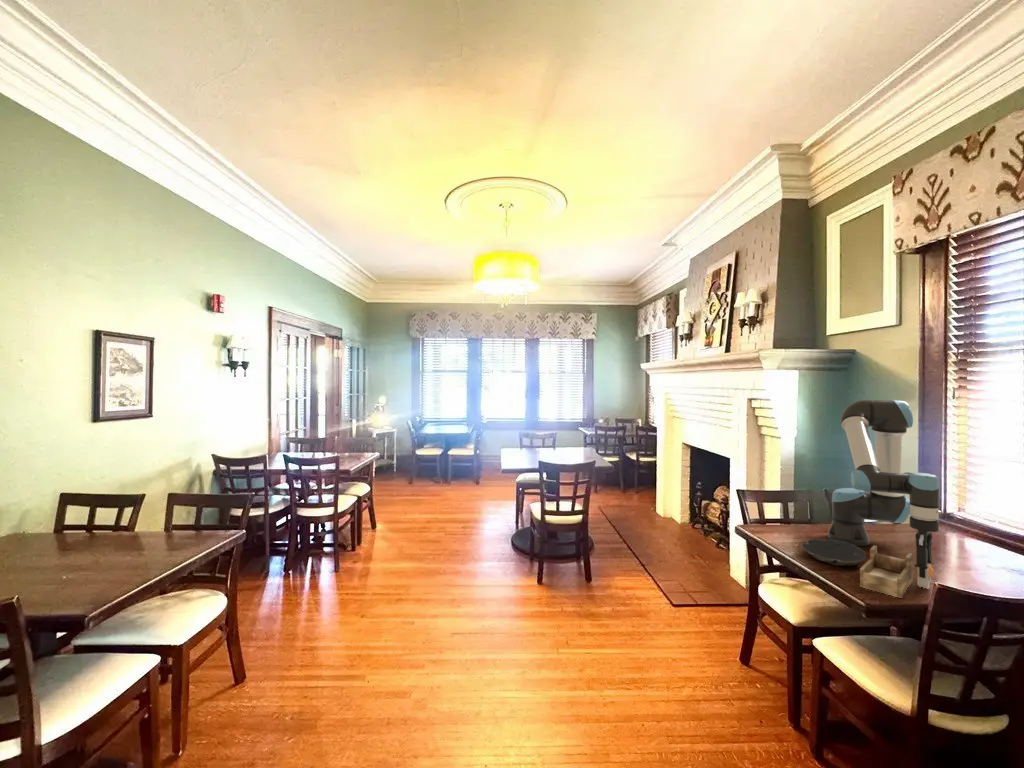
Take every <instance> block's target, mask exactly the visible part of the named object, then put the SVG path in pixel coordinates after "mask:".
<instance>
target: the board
mask: <svg viewBox="0 0 1024 768" xmlns="http://www.w3.org/2000/svg"><path fill="white" fill-rule="evenodd" d="M805 542H806V543H804V542H802V543H801V547H802V549H803V550H804V551H805V552H806V553H808V554H809V555H810V556H811V555H812V556H811V557H813V558H814V559H816V560H818V561H820V562H822V561H823V563H825V562H826V563H825V564H828V563H829V565H831V564H832V566H834V565H835V566H834V567H846V566H849V567H852V566H856V565H857V564H859V563H861V562H862V561H864V560H865V559H866V558H867V554H866V552H865V550H864V549H862V548H861V547H860V546H855V545H852V544H849V543H847V542H841V541H838V540H831V539H829V538H827V539H824V540H822V539H821V538H819V539H816V538H811V539H808V540H806V541H805Z"/></svg>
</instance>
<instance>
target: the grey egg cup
mask: <svg viewBox="0 0 1024 768" xmlns="http://www.w3.org/2000/svg"><path fill="white" fill-rule="evenodd" d="M930 580H931V581H932V577H930V578H928V588H927V587H923V586H919V585H918V588H921V587H923V588H922V589H925V588H926V590H929V589H930V583H929V582H930Z"/></svg>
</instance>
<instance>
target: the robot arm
mask: <svg viewBox="0 0 1024 768" xmlns="http://www.w3.org/2000/svg"><path fill="white" fill-rule="evenodd" d="M913 425H914V416H913V412H912V409H911V406H910V405H909V403H908V402H906V401H905V400H896V399H860V400H856V401H854V402H852V403H850V404H849V405H848V406H846V407H845V408H844V409H843V411H842V414H841V415H840V426H841V428H842V429H843V431H845V434H846V438H847V442H848V446H849V449H850V453H851V454H850V455H851V456H852V460H853V464H854V469H855V470H852V471H851V473H850V481H851V482H850V483H851V486H852V487H843V488H838V489H837V488H836V489H834V491H832V496H831V502H832V508H831V510H832V514H831V515H832V517H831V518H832V521H831V523H830V526H829V528H828V530H827V539H828V540H838V541H841V542H847V543H849V544H852V545H855V546H857V547H866V546H869V545H870V537H869V535H868V531H867V529H866V527H865V520H867V521H876V522H886V523H889V524H890V523H891V524H894V523H899V524H902V523H905V522H906V521H907V520H908V518H909V527H910V528H912V529H914V530H916V531H917V532H916V533H915V543H916V551H915V552H916V558H915V559H916V563H915V564H914V568H915V567H917V573H916V574H917V576H916V578H917V581H916V582H917V586H918V587H919V586H923V587H927V588H928V567H927V564H928V565H930V566H931V567H932V565H934V563H935V561H933V558H932V545H933V533H936V532H939V530H940V521H939V514H942V511H941V510H939V505H940V504H939V502H940V501H939V497H940V494H939V491H940V483H939V477H938V476H937V475H935V474H931V473H925V472H908V471H907V472H902V473H901V469H902V442H903V441H902V440H903V439H902V438H903V436H904V435H905V434H906V433H907V429H910V428H912V427H913ZM869 427H871V431H872V432H873V433H874V434H875V448H874V445H873V442H872V439H871V436H870V432H869V429H868V428H869ZM867 492H869V493H867ZM905 495H909V498H908V497H907V496H905ZM931 583H932V579H931V580H930V582H929V584H931Z"/></svg>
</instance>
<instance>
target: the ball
mask: <svg viewBox="0 0 1024 768" xmlns="http://www.w3.org/2000/svg"><path fill="white" fill-rule="evenodd" d="M927 567H928V578H930V577H931V578H932V577H933V576H934V575H935V574H934V573H935V570H934V568H933V567H932V565H931V566H930V565H928V564H927ZM914 571H915V573H916V574H917V567H915V566H914Z"/></svg>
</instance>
